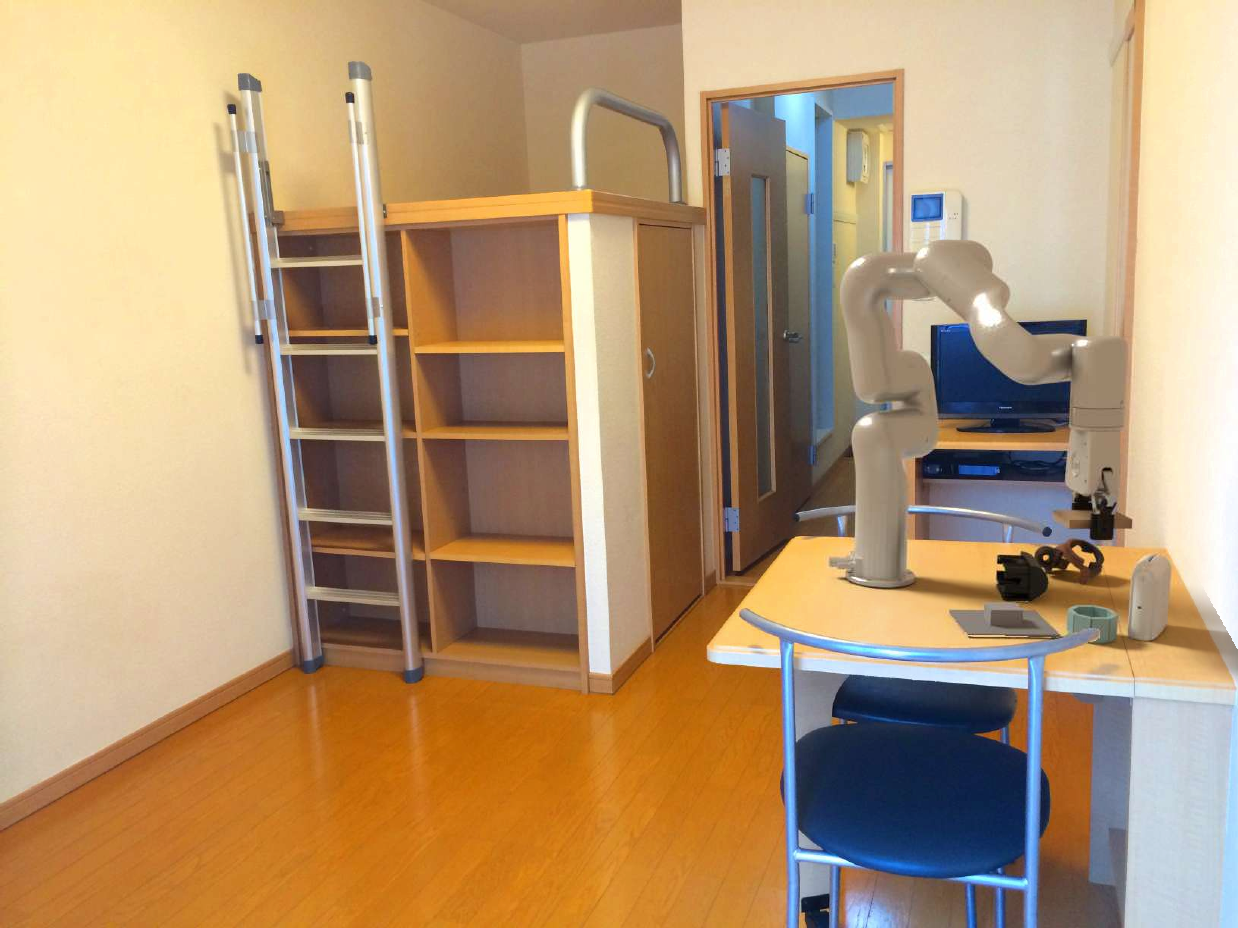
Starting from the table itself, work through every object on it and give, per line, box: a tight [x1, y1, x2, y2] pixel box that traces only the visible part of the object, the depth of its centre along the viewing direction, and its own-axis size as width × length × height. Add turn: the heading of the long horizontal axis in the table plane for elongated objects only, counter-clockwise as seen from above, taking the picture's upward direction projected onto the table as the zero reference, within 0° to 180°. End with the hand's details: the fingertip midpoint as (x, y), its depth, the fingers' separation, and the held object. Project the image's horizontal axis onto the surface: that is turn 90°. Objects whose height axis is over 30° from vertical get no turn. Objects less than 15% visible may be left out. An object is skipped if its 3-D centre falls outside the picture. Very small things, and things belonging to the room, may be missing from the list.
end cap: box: [995, 550, 1050, 603], centre depth 179 cm, size 10×7×7 cm
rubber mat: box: [948, 601, 1061, 639], centre depth 164 cm, size 14×12×3 cm
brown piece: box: [1033, 537, 1105, 584], centre depth 189 cm, size 12×10×8 cm
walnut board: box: [1052, 509, 1133, 530], centre depth 155 cm, size 9×7×1 cm
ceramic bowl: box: [1066, 604, 1119, 645], centre depth 158 cm, size 7×7×4 cm
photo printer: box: [1127, 552, 1172, 642], centre depth 159 cm, size 10×4×12 cm, turn 140°
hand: (1091, 532), depth 155 cm, fingers closed on walnut board, 7 cm apart
